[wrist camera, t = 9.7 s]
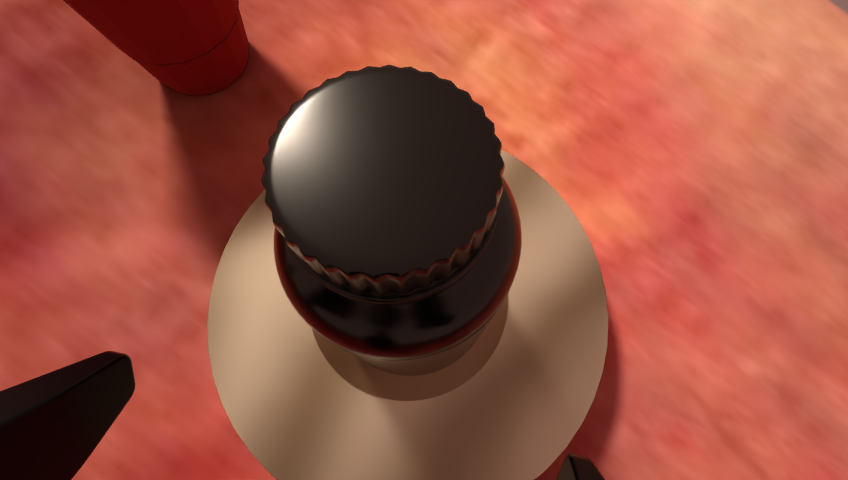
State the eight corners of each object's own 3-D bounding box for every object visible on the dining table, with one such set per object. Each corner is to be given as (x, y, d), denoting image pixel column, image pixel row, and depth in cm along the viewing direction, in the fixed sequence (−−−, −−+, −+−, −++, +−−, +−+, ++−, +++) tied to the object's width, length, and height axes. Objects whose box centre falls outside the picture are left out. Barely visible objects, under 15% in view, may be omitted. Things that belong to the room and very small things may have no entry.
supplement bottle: (457, 210, 21) (492, -7, 10) (509, 347, 19) (633, 269, 8) (318, 252, 20) (186, 69, 9) (355, 399, 18) (240, 399, 7)
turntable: (660, 266, 22) (678, 256, 20) (453, 624, 17) (456, 646, 15) (380, 90, 26) (377, 71, 24) (141, 341, 21) (119, 336, 19)
